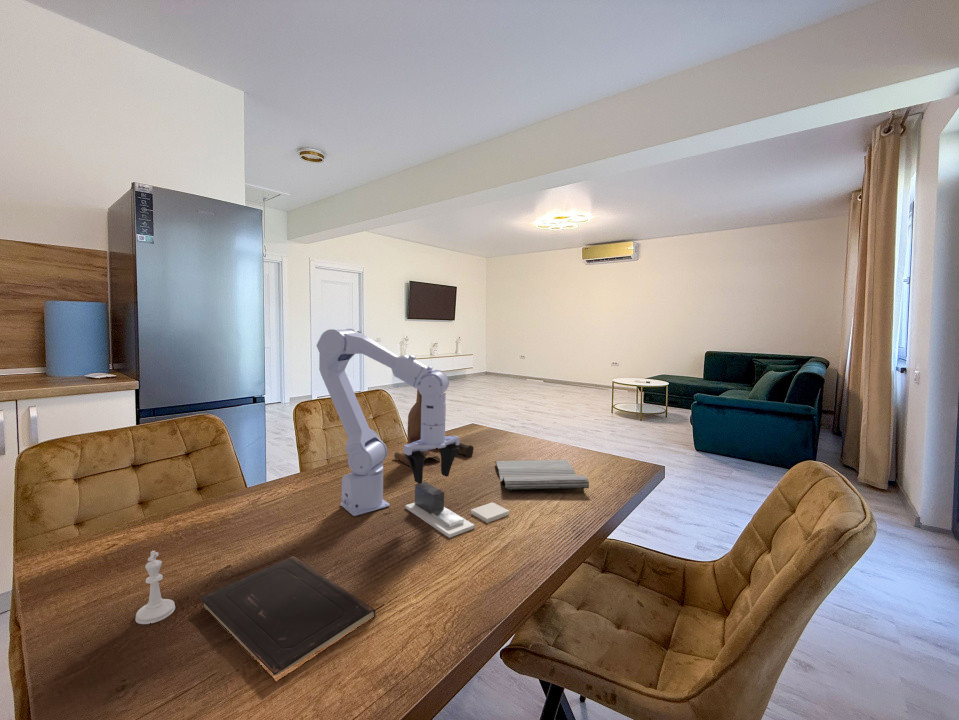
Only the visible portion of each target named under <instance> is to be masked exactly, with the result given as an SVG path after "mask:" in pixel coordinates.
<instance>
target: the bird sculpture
mask: <svg viewBox="0 0 959 720" xmlns="http://www.w3.org/2000/svg"><path fill="white" fill-rule="evenodd" d="M415 401H416V402H415V403H414V404H413V405H412V407H411V408H410V411H409V412H408V415H407V442H406V443H407V444H410V443H413V442H415V441H418V440H421V403H422V395H421V394H420V393H419V390H418V388H417V389H416V400H415ZM420 453H422V456H424V457H426V458H433V459H435V460H437V461H439V462H441V455H438V454H435V453H433V452H431V451H430V450H426V451H421V452H420ZM393 457H395V460H397V459H398V460H400V461H402V462H404V463H405V464H407V465H406V466H408V465H409V467H410V468H411V465H410V463H409V461H408V459H407V457H406V455H405V453H404V449H403V450H398V451H395V453H394V455H393ZM398 460H397V461H398ZM402 462H401V463H402ZM404 463H403V464H404ZM405 464H404V465H405Z"/></svg>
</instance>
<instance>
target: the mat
mask: <svg viewBox="0 0 959 720" xmlns="http://www.w3.org/2000/svg"><path fill="white" fill-rule="evenodd" d="M495 464H496V467H497V471H498V476H499V481H500V483H503V484H504V487H505V489H506V490H508V491H509V492H511V491H524V490H525V491H529V490H530V491H531V490H532V491H533V490H549V489H550V490H555V489H561V490H562V489H581V490H582V493H584V489H589V487H590V480H589V478H588V477H587V475H583V474H582V475H577V474H576V472H575V469H574V467H573V466H572V465H571V464H570V462H569V461H568V460H567V459H544V460H543V459H539V460H538V459H537V460H535V459H534V460H532V459H531V460H530V459H529V460H495Z"/></svg>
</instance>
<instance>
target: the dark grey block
mask: <svg viewBox="0 0 959 720" xmlns="http://www.w3.org/2000/svg"><path fill="white" fill-rule="evenodd" d="M414 502H415V505H417V506H418V507H420V508H421V509H423V510H424V511H426V512H428V513H429V514H431V517H433V518H434V519H436V520H437V521H439V522H440V523H442V524H443V525H445V526H446V527H448V528H452V527H455V526H458V525H460V524H463V523H464V519H465V518H464V517H462V516H461V515H459V514H457V513H456V514H457V515H456V514H455V512H454V511H452V510H451V509H449V510H448V508H447V507H445V492H444V491H442V490H441V489H439V488H437V487H435V486H433V485H432V484H429V483H428V482H426V481H422V483H420V484H419V483H417V484H415V485H414ZM444 507H445V508H444ZM446 508H447V509H446ZM451 511H452V512H451ZM453 512H454V513H453ZM458 515H459V516H458ZM460 516H461V517H462V518H461V517H460ZM463 518H464V519H463Z"/></svg>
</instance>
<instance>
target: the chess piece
mask: <svg viewBox="0 0 959 720" xmlns="http://www.w3.org/2000/svg"><path fill="white" fill-rule="evenodd" d="M159 555H160V553H159V552H156V550H152V551H150V556H149V557H148V558H147V563H146V564H145V566H144V567H145V570H146V571H147V573H148V575H149V576H148V577H146V579H145V584H150V585H149V586H150V587H149V596H148V602H147V604H144V605H143V606H141V607H140V608H139V609H138V610H137V611H136V614H135V618H134V619H135V622H136V623H137V624H139V625H150V623H151V624H154V623H157V622H160V621H163V620H165V619H166V618H168V617H169V616H170V615H172V613H174V611H175V610H176V605H175V601H174V600H172V599H169V598H162V594H161V589H160V584H159V582H160V581H161V580H163V578H164V576H163V574H161V573H160V571H161V570H160V569H161V567H162V565H163V564H162V563H163V561H162V560H160V559H159V560H158V559H157V557H159Z"/></svg>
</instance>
